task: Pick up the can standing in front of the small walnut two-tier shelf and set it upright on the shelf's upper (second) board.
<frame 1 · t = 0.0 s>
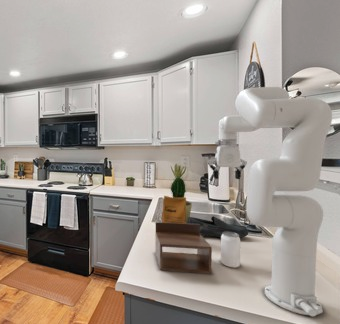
hand: (226, 178, 109), 31 cm above the worktop, tool pointing down, fingers open, 9 cm apart
potted cactus: (177, 227, 132), on the worktop
can: (229, 264, 88), on the worktop
coffee package: (173, 239, 114), on the worktop
loafer: (216, 236, 117), on the worktop
shelf: (180, 262, 89), on the worktop
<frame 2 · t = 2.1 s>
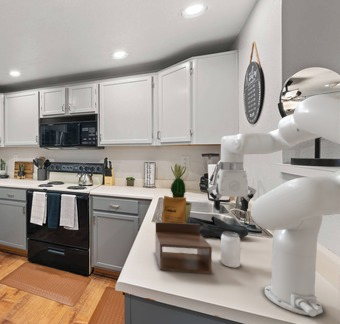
hand: (230, 210, 88), 21 cm above the worktop, tool pointing down, fingers open, 9 cm apart
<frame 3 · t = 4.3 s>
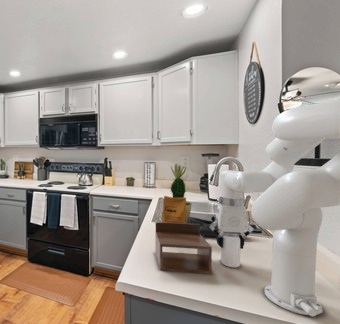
hand: (230, 246, 88), 7 cm above the worktop, tool pointing down, fingers closed on can, 6 cm apart
can: (230, 264, 88), on the worktop, touching gripper
everything else where it was.
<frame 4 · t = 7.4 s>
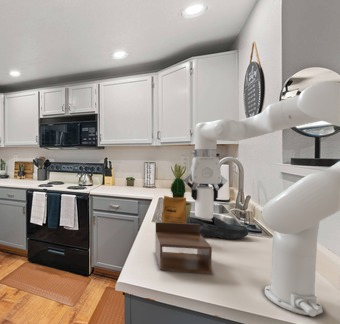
hand: (204, 199, 88), 26 cm above the worktop, tool pointing down, fingers closed on can, 6 cm apart
can: (203, 217, 88), point 18 cm above the worktop, touching gripper
everything else where it was.
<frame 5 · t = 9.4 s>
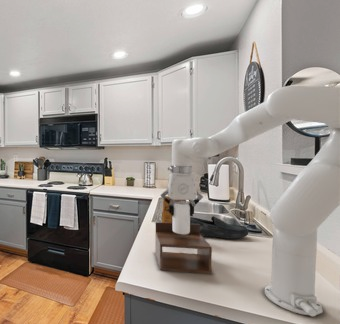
hand: (181, 214, 88), 20 cm above the worktop, tool pointing down, fingers closed on can, 6 cm apart
can: (180, 232, 89), point 12 cm above the worktop, touching gripper
everything else where it was.
when the fingers open (17 cm above the worktop, at t = 10.7 s): can stays where it is, resting on shelf.
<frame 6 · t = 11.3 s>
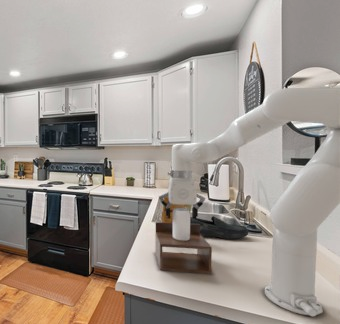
hand: (181, 217, 88), 18 cm above the worktop, tool pointing down, fingers open, 9 cm apart
can: (181, 238, 89), point 10 cm above the worktop, touching shelf
everything else where it was.
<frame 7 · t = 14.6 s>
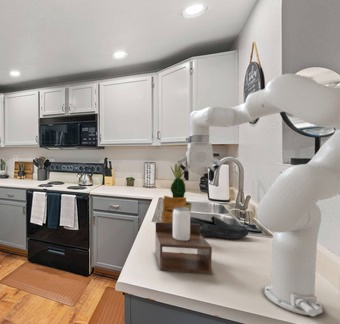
hand: (198, 180, 95), 32 cm above the worktop, tool pointing down, fingers open, 9 cm apart
nothing on the worktop moved.
at the end: can inside the target area on the shelf (0.1 cm from its centre), point 9.8 cm above the shelf's base; can tilted 0°; the gripper is holding nothing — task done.
